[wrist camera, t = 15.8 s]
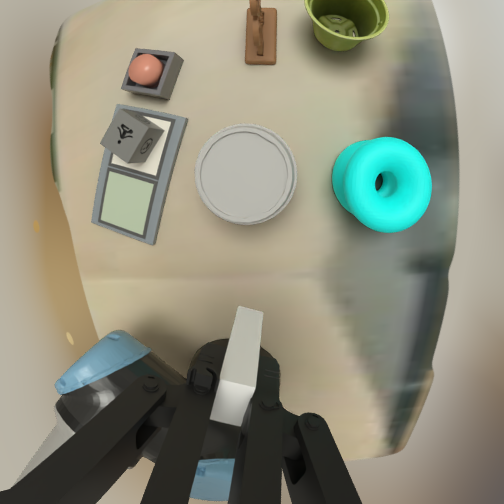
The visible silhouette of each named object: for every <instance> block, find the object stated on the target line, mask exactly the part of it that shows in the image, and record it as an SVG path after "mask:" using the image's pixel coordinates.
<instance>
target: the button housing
mask: <svg viewBox="0 0 504 504" xmlns="http://www.w3.org/2000/svg"><path fill="white" fill-rule="evenodd" d="M142 54H150V55H152V56H154V57H155V58H157V59H158V60H160V61H161V62H163V63H164V64H165V65H166V66H165V69H164V71H163V74H162V77H161V80H160V82H159V85H158V86H157V87H154V88H148V87H145V86H143V85H141V84H139V83H136V82H134V81H132V80H131V79H130V77H129V73H128V71H129V67H128V70H127V72H126V75H125V78H124V81H123V84H122V87H121V89H122V90H125V91H128V92H131V93H135V94H141V95H147V96H153V97H158V98H164V99H169V100H170V97H171V94H172V91H173V88H174V85H175V82H176V80H177V77H178V74H179V71H180V69H181V66H182V63H183V61H184V60H183V59H182V58H181V57H180V56H178V55H177V54H176V53H175V52H167V51H159V50H149V49H138V48H136V49H135V51H134V54H133V56H132V59H131V61H130V64H131V63H132V61H133V60H134V59H135V58H136V57H138V56H140V55H142ZM130 64H129V66H130Z"/></svg>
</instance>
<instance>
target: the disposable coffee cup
mask: <svg viewBox="0 0 504 504" xmlns="http://www.w3.org/2000/svg"><path fill="white" fill-rule="evenodd" d="M296 182H297V167H296V162H295V159H294V155H293V153H292V151H291V150H290V148H289V146H288V145H287V144H286V142H285V141H284V140H283V139H282V138H281V137H280V136H279V135H278V134H276V133H275V132H273V131H272V130H270V129H268V128H266V127H263V126H260V125H256V124H236V125H232V126H229V127H226V128H224V129H222V130H220V131H218V132H217V133H215V134H214V135H213V136H212V137H211V138H209V139H208V141H207V142H206V143H205V144H204V146H203V147H202V149H201V151H200V152H199V155H198V158H197V161H196V166H195V183H196V187H197V190H198V193H199V195H200V197H201V199H202V201H203V202H204V204H205V205H206V206H207V207H208V209H209V210H210V211H212V212H213V213H214V214H215V215H216V216H218V217H220V218H222V219H223V220H225V221H227V222H231V223H235V224H241V225H252V224H258V223H262V222H264V221H267V220H269V219H271V218H273V217H274V216H276V215H277V214H278V213H280V212H281V211H282V210H283V209H284V208H285V206H286V205H287V204H288V203H289V201H290V199H291V197H292V196H293V193H294V190H295V187H296Z"/></svg>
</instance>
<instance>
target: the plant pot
mask: <svg viewBox="0 0 504 504" xmlns="http://www.w3.org/2000/svg"><path fill="white" fill-rule="evenodd" d="M304 3H305V7H306V10H307V12H308V14H309V16H310V17H311V19H312V21H313V29H314V34H315V37H316V38H317V40H318V41H319V42H320V43H321V44H322V45H324V46H325V47H326V48H328V49H331V50H334V51H347V50H350V49H352V48H353V47H355V46H356V45H357V44H359V43H360V42H361V41H362V40H368V39H371V38H374V37H376V36H378V35H379V34H381V33H382V32H383V31H384V30H385V28H386V27H387V25H388V21H389V12H388V8H387V5H386V3H385V2H384V0H304ZM331 18H340V19H341V20H335V19H331ZM336 30H338V31H339V33H336V32H335V31H336ZM353 31H354V32H355V37H353Z"/></svg>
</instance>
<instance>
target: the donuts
mask: <svg viewBox="0 0 504 504" xmlns="http://www.w3.org/2000/svg"><path fill="white" fill-rule="evenodd" d="M380 173H381V175H382V177H383V183H382V186H381V188H380V189H379V190H377V191H376V188H375V181H376V178H377V176H378V175H379V174H380ZM332 184H333V189H334V192H335V195H336V197H337V199H338V200H339V202H340V203H341V205H342V206H343V207H344V208H345V209H346V210H347V211H349V212H350V213H352V214H353V215H354V216H355V217H356V218H357V219H358V220H359V221H360V222H361V223H363V224H364V225H365V226H367V227H368V228H370V229H373V230H375V231H378V232H384V233H394V232H399V231H402V230H405V229H407V228H409V227H411V226H412V225H413V224H415V223H416V222H417V221H418V220H419V219H420V218H421V217H422V215H423V214H424V212H425V211H426V209H427V206H428V204H429V201H430V198H431V191H432V181H431V175H430V171H429V168H428V166H427V164H426V162H425V160H424V158H423V157H422V155H421V154H420V153H419V152H418V151H417V150H416V149H415V148H414V147H413V146H411V145H410V144H408V143H407V142H405V141H403V140H400V139H397V138H392V137H380V138H376V139H372V140H364V141H359V142H356V143H354V144H351V145H350V146H348V147H347V148H346V149H344V150H343V151H342V153H341V154H340V155H339V157H338V158H337V160H336V162H335V165H334V168H333V173H332Z"/></svg>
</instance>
